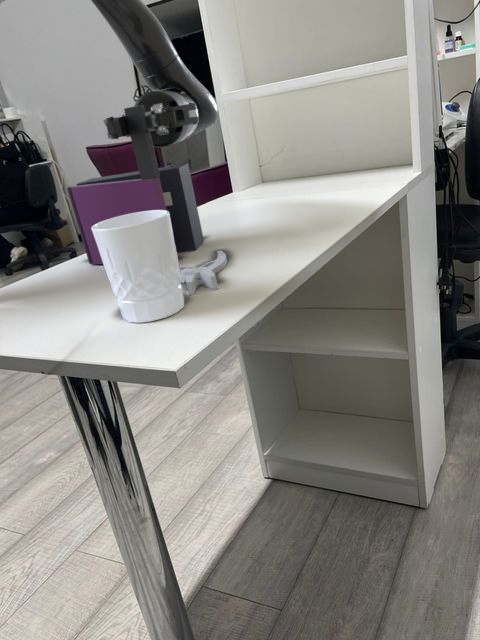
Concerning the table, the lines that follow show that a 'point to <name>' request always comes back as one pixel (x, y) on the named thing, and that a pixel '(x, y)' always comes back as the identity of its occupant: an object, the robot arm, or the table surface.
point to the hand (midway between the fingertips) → (131, 125)
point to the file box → (172, 203)
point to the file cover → (119, 189)
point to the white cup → (141, 264)
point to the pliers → (203, 274)
